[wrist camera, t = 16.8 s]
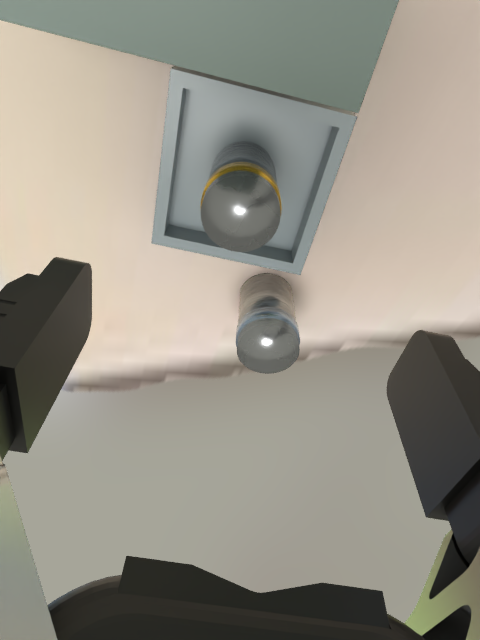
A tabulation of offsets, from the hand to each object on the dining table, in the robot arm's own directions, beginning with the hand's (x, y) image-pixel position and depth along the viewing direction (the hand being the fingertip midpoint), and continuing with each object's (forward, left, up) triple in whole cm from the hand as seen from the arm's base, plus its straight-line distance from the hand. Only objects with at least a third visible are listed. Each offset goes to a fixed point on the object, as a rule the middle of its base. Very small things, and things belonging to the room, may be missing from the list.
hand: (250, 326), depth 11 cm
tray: (0, +3, -21) cm, 22 cm away
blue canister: (-4, +13, -21) cm, 25 cm away
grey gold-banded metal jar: (0, +3, -21) cm, 21 cm away
